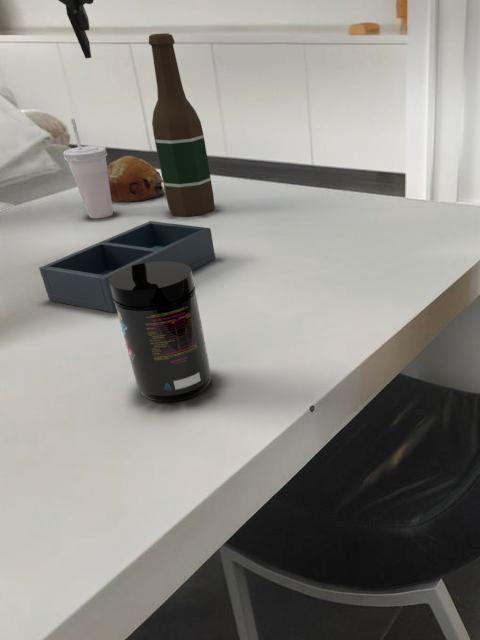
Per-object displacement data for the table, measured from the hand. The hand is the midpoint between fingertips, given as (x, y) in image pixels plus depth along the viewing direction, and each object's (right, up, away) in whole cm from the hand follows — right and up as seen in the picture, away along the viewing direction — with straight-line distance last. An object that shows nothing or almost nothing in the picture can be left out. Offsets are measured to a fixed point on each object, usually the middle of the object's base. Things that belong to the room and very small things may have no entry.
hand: (35, 57), depth 91 cm
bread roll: (+4, -6, +30) cm, 31 cm away
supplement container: (+26, -48, -28) cm, 61 cm away
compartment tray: (+15, -31, -4) cm, 34 cm away
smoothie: (+1, -13, +20) cm, 24 cm away
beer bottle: (+16, -12, +21) cm, 29 cm away
